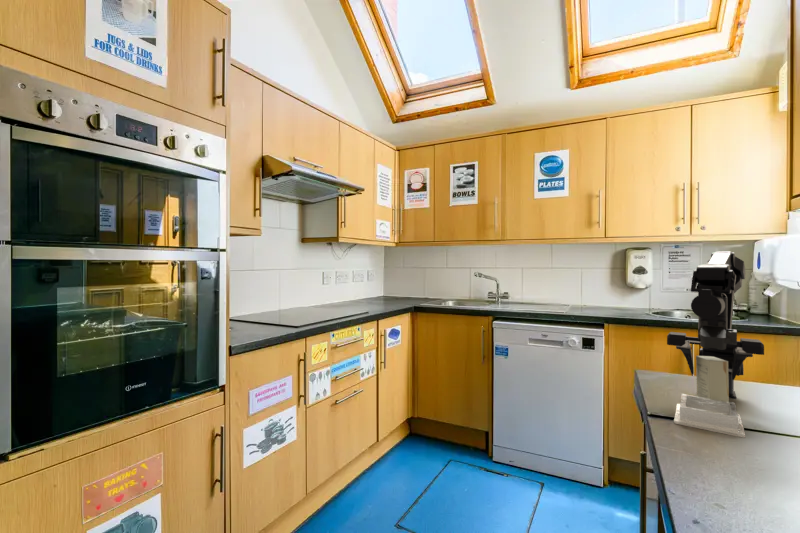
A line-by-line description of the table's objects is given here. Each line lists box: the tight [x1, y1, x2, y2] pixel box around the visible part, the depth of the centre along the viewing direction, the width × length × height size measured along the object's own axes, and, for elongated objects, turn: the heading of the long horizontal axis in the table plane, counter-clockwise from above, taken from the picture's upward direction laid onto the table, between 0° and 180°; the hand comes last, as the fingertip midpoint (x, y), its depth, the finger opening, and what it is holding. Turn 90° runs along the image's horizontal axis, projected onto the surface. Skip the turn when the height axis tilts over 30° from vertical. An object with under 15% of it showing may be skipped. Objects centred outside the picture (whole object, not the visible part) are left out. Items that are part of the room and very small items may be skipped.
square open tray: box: [673, 393, 746, 439], centre depth 89 cm, size 14×12×4 cm
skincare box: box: [695, 355, 730, 402], centre depth 98 cm, size 6×4×12 cm
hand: (712, 376), depth 98 cm, fingers open, 8 cm apart
